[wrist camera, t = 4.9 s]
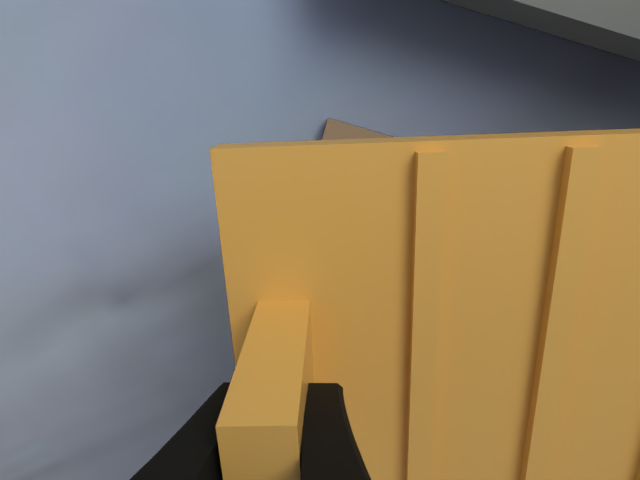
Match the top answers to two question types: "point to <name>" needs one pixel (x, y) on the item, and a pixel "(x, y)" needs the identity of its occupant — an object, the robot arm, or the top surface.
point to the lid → (436, 302)
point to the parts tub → (573, 20)
